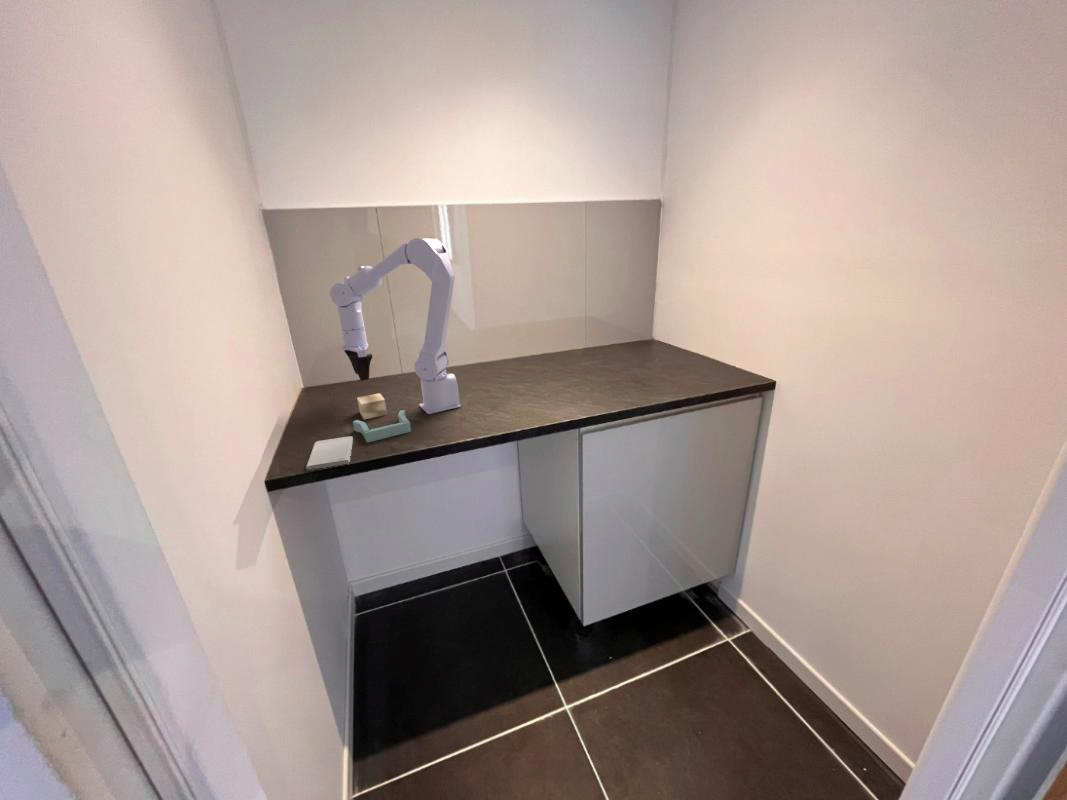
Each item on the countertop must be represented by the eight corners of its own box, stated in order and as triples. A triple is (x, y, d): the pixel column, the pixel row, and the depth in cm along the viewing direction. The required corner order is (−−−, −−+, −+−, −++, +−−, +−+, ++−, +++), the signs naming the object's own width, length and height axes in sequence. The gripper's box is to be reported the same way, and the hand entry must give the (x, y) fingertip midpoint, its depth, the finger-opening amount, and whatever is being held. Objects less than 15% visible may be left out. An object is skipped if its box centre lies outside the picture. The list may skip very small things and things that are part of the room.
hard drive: (348, 459, 88) (352, 435, 99) (305, 466, 85) (314, 440, 96) (349, 466, 88) (353, 441, 99) (307, 473, 86) (315, 447, 97)
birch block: (382, 408, 118) (379, 393, 116) (387, 415, 113) (384, 399, 111) (360, 412, 115) (357, 397, 113) (364, 420, 110) (361, 404, 108)
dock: (405, 418, 110) (404, 409, 109) (416, 430, 103) (414, 421, 102) (354, 430, 104) (352, 420, 103) (361, 444, 96) (359, 434, 96)
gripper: (333, 326, 116) (342, 372, 121) (341, 335, 104) (351, 386, 109) (360, 323, 119) (368, 368, 124) (370, 331, 108) (379, 381, 113)
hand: (362, 376), depth 117 cm, fingers open, 6 cm apart
